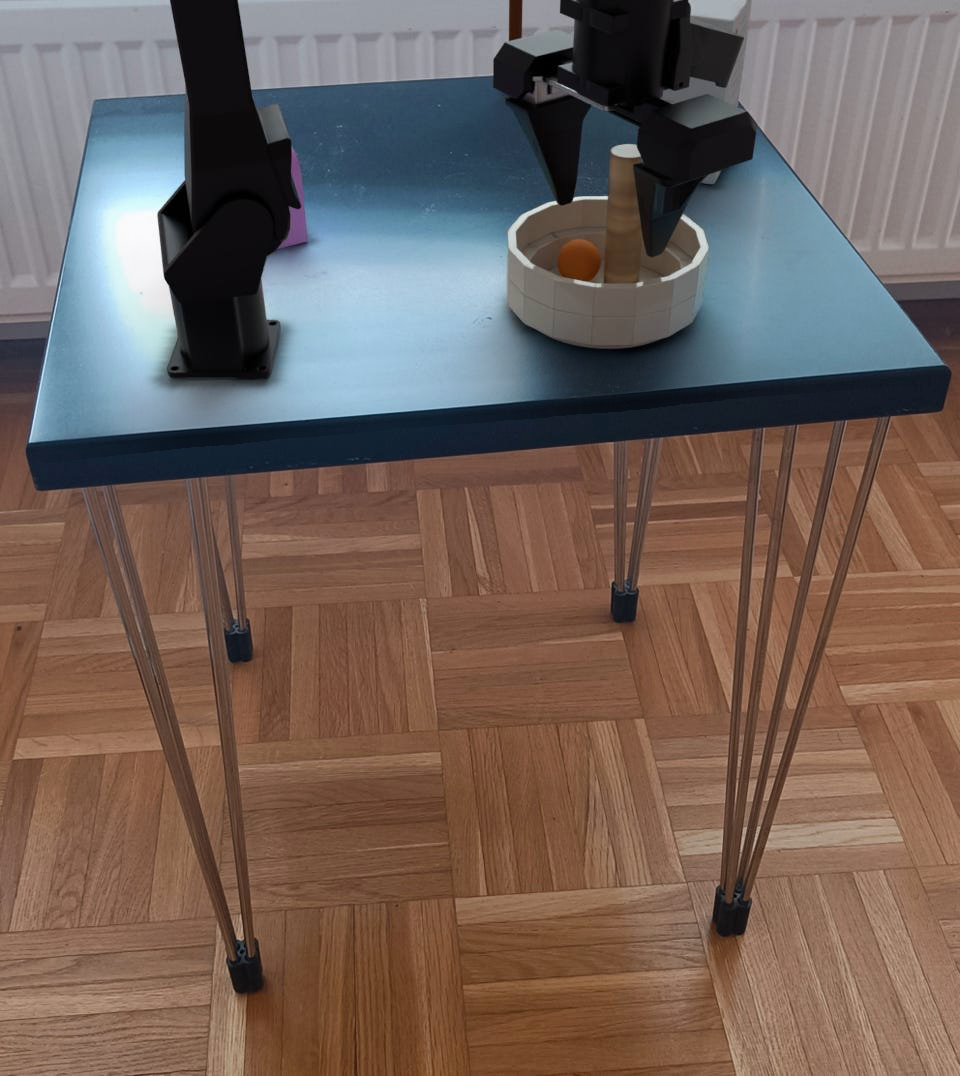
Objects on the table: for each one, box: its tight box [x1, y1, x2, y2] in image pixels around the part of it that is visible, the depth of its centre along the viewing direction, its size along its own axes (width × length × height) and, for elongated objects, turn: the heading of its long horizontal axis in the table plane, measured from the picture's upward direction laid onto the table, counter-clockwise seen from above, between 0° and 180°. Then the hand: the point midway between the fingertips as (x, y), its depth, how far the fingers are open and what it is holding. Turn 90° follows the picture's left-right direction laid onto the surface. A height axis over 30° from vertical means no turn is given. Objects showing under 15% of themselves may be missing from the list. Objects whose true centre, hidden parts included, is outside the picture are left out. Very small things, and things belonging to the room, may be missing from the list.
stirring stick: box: [603, 143, 643, 283], centre depth 82 cm, size 2×2×10 cm
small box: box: [660, 0, 753, 185], centre depth 100 cm, size 8×6×13 cm
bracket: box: [277, 146, 309, 250], centre depth 94 cm, size 13×6×7 cm, turn 30°
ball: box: [557, 239, 601, 282], centre depth 86 cm, size 3×3×3 cm
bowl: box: [506, 195, 710, 350], centre depth 84 cm, size 13×13×5 cm
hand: (608, 228), depth 82 cm, fingers open, 9 cm apart
